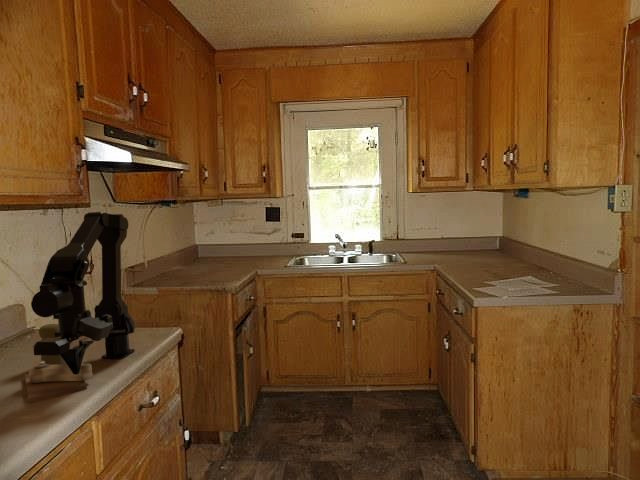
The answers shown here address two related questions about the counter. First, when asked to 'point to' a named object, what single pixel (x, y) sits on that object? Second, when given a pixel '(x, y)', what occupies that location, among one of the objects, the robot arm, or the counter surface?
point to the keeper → (42, 363)
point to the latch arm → (59, 373)
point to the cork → (49, 332)
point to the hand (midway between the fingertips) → (76, 374)
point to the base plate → (51, 388)
